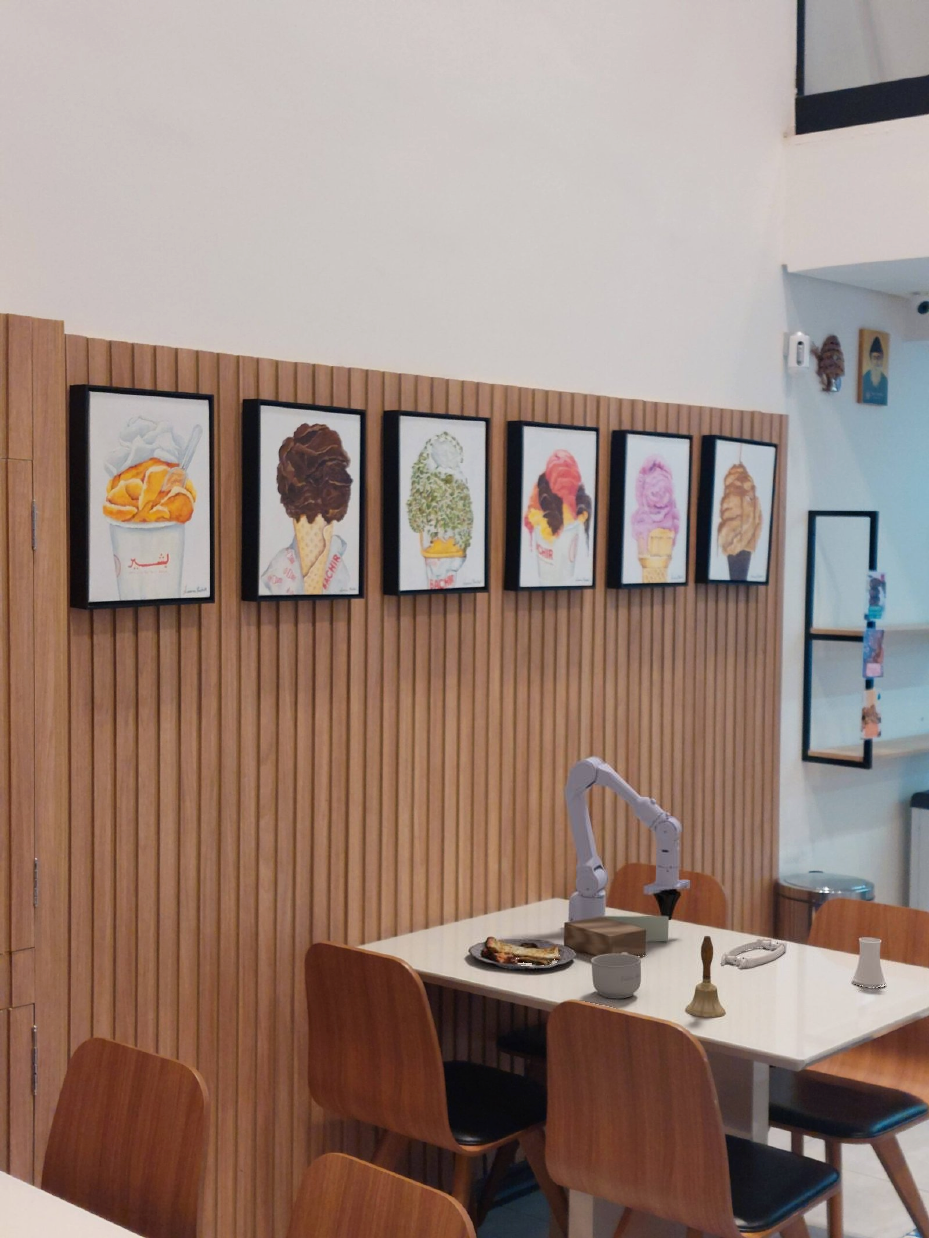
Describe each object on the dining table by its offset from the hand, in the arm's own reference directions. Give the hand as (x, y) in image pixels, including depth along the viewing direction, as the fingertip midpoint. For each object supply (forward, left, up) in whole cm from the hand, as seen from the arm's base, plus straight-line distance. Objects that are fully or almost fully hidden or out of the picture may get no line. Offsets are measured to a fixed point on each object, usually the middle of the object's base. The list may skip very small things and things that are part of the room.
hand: (666, 919), depth 362 cm
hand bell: (+49, -38, -5) cm, 62 cm away
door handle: (+25, +5, -5) cm, 26 cm away
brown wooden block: (+2, -23, -5) cm, 24 cm away
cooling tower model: (+55, +9, -5) cm, 56 cm away
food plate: (-4, -44, -5) cm, 44 cm away
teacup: (+29, -44, -5) cm, 53 cm away
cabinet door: (-2, -9, -4) cm, 10 cm away
